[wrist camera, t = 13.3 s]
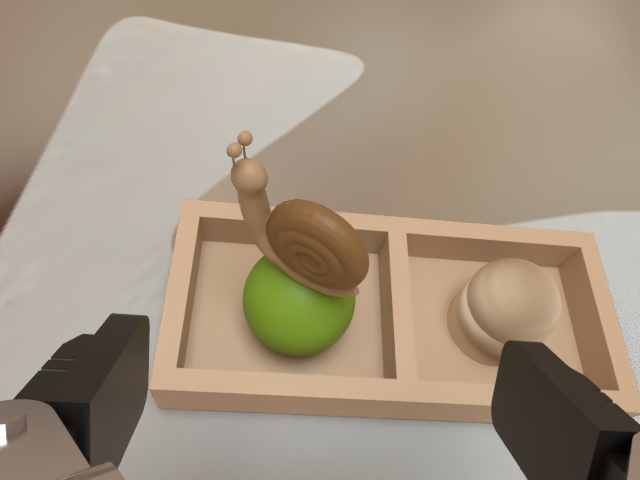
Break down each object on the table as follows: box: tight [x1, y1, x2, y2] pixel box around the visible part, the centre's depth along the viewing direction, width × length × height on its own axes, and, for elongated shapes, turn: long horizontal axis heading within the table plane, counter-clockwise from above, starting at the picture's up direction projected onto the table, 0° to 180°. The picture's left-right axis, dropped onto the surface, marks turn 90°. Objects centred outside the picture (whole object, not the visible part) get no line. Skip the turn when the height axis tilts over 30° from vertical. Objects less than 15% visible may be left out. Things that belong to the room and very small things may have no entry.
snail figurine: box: [227, 131, 369, 356], centre depth 23 cm, size 5×6×12 cm
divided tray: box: [149, 199, 640, 423], centre depth 28 cm, size 23×10×4 cm, turn 89°
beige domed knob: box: [447, 258, 561, 366], centre depth 27 cm, size 5×5×5 cm
